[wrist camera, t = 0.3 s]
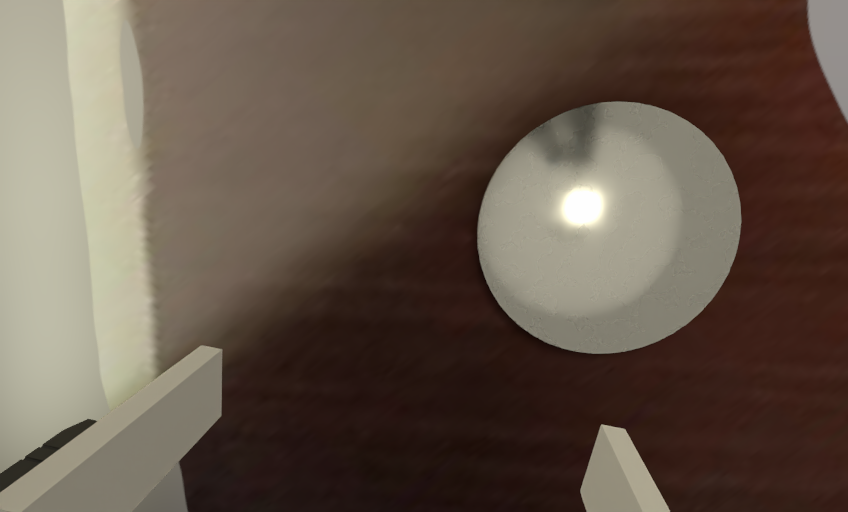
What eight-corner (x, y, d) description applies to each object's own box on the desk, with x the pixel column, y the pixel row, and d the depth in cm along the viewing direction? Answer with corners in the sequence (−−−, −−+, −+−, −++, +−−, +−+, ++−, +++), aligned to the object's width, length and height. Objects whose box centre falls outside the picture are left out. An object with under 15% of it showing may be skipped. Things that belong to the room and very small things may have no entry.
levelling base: (497, 93, 37) (501, 84, 34) (746, 126, 36) (776, 121, 32) (459, 319, 41) (459, 332, 38) (679, 355, 40) (699, 372, 37)
